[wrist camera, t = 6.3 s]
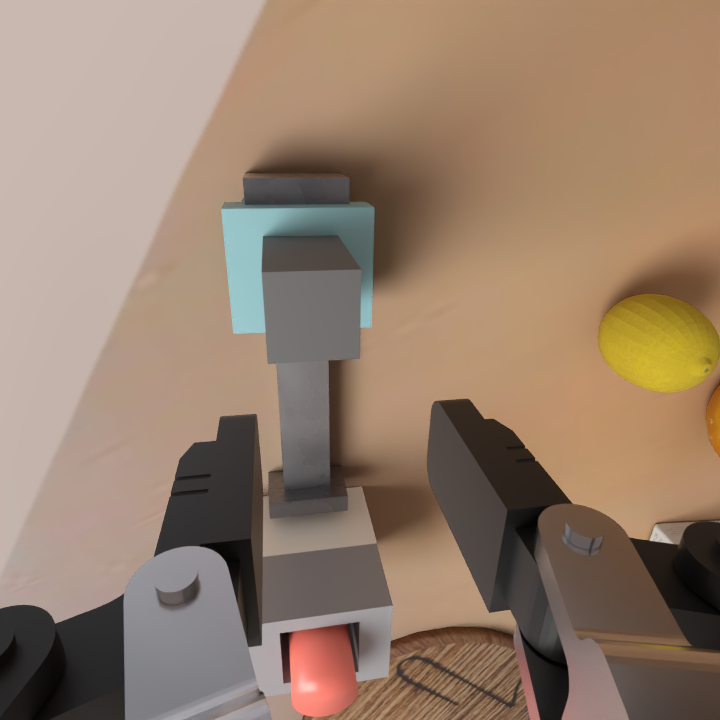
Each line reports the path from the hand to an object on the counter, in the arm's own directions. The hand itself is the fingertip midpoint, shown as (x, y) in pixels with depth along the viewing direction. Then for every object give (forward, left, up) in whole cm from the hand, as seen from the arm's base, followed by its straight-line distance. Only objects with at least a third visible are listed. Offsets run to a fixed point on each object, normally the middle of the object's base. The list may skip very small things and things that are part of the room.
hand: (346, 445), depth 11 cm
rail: (+6, 0, -19) cm, 20 cm away
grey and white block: (+20, 0, -19) cm, 28 cm away
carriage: (0, 0, -19) cm, 19 cm away
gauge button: (+20, 0, -13) cm, 24 cm away
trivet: (+46, +11, -20) cm, 51 cm away
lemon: (+5, +21, -19) cm, 29 cm away
